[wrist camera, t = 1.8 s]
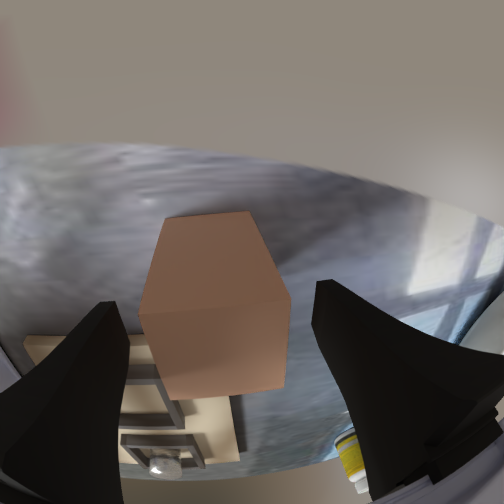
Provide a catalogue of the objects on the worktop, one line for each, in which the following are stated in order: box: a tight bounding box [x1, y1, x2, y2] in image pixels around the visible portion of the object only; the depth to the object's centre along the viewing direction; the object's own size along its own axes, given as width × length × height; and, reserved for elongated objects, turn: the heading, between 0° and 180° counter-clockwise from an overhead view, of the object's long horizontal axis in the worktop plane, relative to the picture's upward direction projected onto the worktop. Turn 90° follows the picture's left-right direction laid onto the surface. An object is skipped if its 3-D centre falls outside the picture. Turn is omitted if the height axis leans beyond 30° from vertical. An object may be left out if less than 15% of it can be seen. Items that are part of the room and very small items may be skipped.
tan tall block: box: [138, 211, 291, 400], centre depth 11 cm, size 4×4×7 cm
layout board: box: [23, 334, 240, 469], centre depth 19 cm, size 14×20×2 cm
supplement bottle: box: [335, 428, 369, 494], centre depth 25 cm, size 5×5×8 cm
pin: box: [150, 449, 182, 479], centre depth 20 cm, size 3×3×3 cm
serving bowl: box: [459, 291, 504, 355], centre depth 22 cm, size 21×21×7 cm
